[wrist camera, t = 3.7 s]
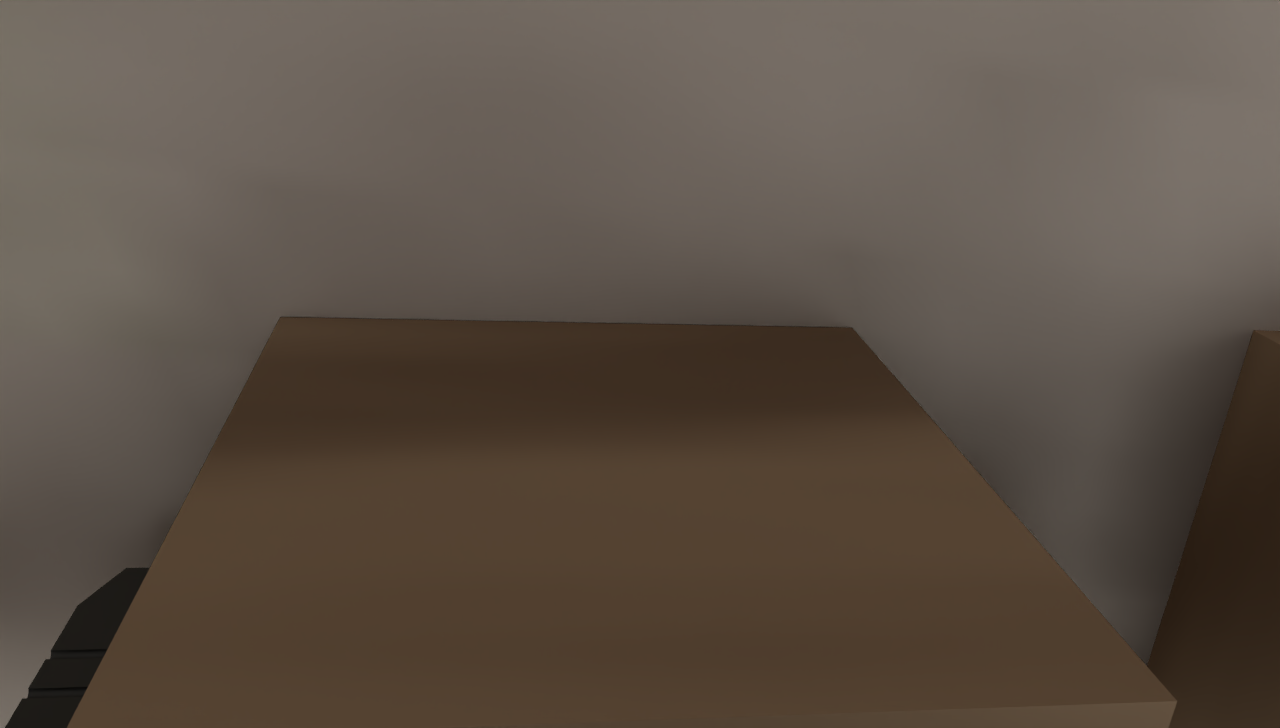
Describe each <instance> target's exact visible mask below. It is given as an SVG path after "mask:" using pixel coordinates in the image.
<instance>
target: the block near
mask: <svg viewBox="0 0 1280 728" xmlns="http://www.w3.org/2000/svg"><path fill="white" fill-rule="evenodd" d="M1176 703H1177V700H1176V699H1175V698H1174V697H1173V696H1172V695H1171V693H1170V692H1169V691H1168V690H1167V689H1166V688H1165V686H1164V685H1163V684H1162V683H1161V682H1160V681H1159V680H1158V678H1157V677H1156V676H1155V675H1154V674H1153V673H1152V672H1151V670H1150V669H1149V668H1148V667H1147V666H1146V665H1145V664H1144V662H1143V661H1142V660H1141V659H1140V658H1139V657H1138V655H1137V654H1136V653H1135V652H1134V651H1133V650H1132V649H1131V647H1130V646H1129V645H1128V644H1127V643H1126V642H1125V641H1124V639H1123V638H1122V637H1121V636H1120V635H1119V634H1118V633H1117V631H1116V630H1115V629H1114V628H1113V627H1112V626H1111V624H1110V623H1109V622H1108V621H1107V620H1106V619H1105V618H1104V616H1103V615H1102V614H1101V613H1100V612H1099V611H1098V610H1097V608H1096V607H1095V606H1094V605H1093V604H1092V603H1091V602H1090V600H1089V599H1088V598H1087V597H1086V596H1085V595H1084V593H1083V592H1082V591H1081V590H1080V589H1079V588H1078V587H1077V585H1076V584H1075V583H1074V582H1073V581H1072V580H1071V579H1070V577H1069V576H1068V575H1067V574H1066V573H1065V572H1064V571H1063V569H1062V568H1061V567H1060V566H1059V565H1058V564H1057V562H1056V561H1055V560H1054V559H1053V558H1052V557H1051V556H1050V554H1049V553H1048V552H1047V551H1046V550H1045V549H1044V548H1043V546H1042V545H1041V544H1040V543H1039V542H1038V541H1037V540H1036V538H1035V537H1034V536H1033V535H1032V534H1031V533H1030V531H1029V530H1028V529H1027V528H1026V527H1025V526H1024V525H1023V523H1022V522H1021V521H1020V520H1019V519H1018V518H1017V517H1016V515H1015V514H1014V513H1013V512H1012V511H1011V510H1010V509H1009V507H1008V506H1007V505H1006V504H1005V503H1004V502H1003V500H1002V499H1001V498H1000V497H999V496H998V495H997V494H996V492H995V491H994V490H993V489H992V488H991V487H990V486H989V484H988V483H987V482H986V481H985V480H984V479H983V477H982V476H981V475H980V474H979V473H978V472H977V471H976V469H975V468H974V467H973V466H972V465H971V464H970V463H969V461H968V460H967V459H966V458H965V457H964V456H963V455H962V453H961V452H960V451H959V450H958V449H957V448H956V446H955V445H954V444H953V443H952V442H951V441H950V440H949V438H948V437H947V436H946V435H945V434H944V433H943V432H942V430H941V429H940V428H939V427H938V426H937V425H936V424H935V422H934V421H933V420H932V419H931V418H930V417H929V415H928V414H927V413H926V412H925V411H924V410H923V409H922V407H921V406H920V405H919V404H918V403H917V402H916V401H915V399H914V398H913V397H912V396H911V395H910V394H909V393H908V391H907V390H906V389H905V388H904V387H903V386H902V384H901V383H900V382H899V381H898V380H897V379H896V378H895V376H894V375H893V374H892V373H891V372H890V371H889V370H888V368H887V367H886V366H885V365H884V364H883V363H882V362H881V360H880V359H879V358H878V357H877V356H876V355H875V353H874V352H873V351H872V350H871V349H870V348H869V347H868V345H867V344H866V343H865V342H864V341H863V340H862V339H861V337H860V336H859V335H858V334H857V333H856V332H855V331H854V329H853V328H839V327H784V326H730V325H676V324H622V323H568V322H514V321H460V320H406V319H351V318H297V317H280V319H279V321H278V322H277V324H276V326H275V328H274V330H273V332H272V334H271V336H270V338H269V340H268V342H267V344H266V346H265V347H264V349H263V351H262V353H261V355H260V357H259V359H258V361H257V363H256V365H255V367H254V369H253V371H252V372H251V374H250V376H249V378H248V380H247V382H246V384H245V386H244V388H243V390H242V392H241V394H240V396H239V397H238V399H237V401H236V403H235V405H234V407H233V409H232V411H231V413H230V415H229V417H228V419H227V421H226V422H225V424H224V426H223V428H222V430H221V432H220V434H219V436H218V438H217V440H216V442H215V444H214V446H213V447H212V449H211V451H210V453H209V455H208V457H207V459H206V461H205V463H204V465H203V467H202V469H201V471H200V473H199V474H198V476H197V478H196V480H195V482H194V484H193V486H192V488H191V490H190V492H189V494H188V496H187V498H186V499H185V501H184V503H183V505H182V507H181V509H180V511H179V513H178V515H177V517H176V519H175V521H174V523H173V524H172V526H171V528H170V530H169V532H168V534H167V536H166V538H165V540H164V542H163V544H162V546H161V548H160V549H159V551H158V553H157V555H156V557H155V559H154V561H153V563H152V565H151V567H150V569H149V571H148V573H147V574H146V576H145V578H144V580H143V582H142V584H141V586H140V588H139V590H138V592H137V594H136V596H135V598H134V599H133V601H132V603H131V605H130V607H129V609H128V611H127V613H126V615H125V617H124V619H123V621H122V623H121V624H120V626H119V628H118V630H117V632H116V634H115V636H114V638H113V640H112V642H111V644H110V646H109V648H108V649H107V651H106V653H105V655H104V657H103V659H102V661H101V663H100V665H99V667H98V669H97V671H96V673H95V674H94V676H93V678H92V680H91V682H90V684H89V686H88V688H87V690H86V692H85V694H84V696H83V698H82V699H81V701H80V703H79V705H78V707H77V709H76V711H75V713H74V715H73V717H72V719H71V721H70V723H69V724H68V726H67V728H1169V725H1170V722H1171V719H1172V716H1173V713H1174V709H1175V706H1176Z"/></svg>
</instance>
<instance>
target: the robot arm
mask: <svg viewBox="0 0 1280 728" xmlns="http://www.w3.org/2000/svg"><path fill="white" fill-rule="evenodd" d="M149 569H150V568H126V569H125V570H123V571H122V572H121V573H119V574H118V575H117V576H115V577H114V578H113V579H112V580H110V581H109V582H108V583H106V584H105V585H104V586H103V587H101V588H100V589H99V590H97V591H96V592H95V593H93V594H92V595H91V596H90V597H88V598H87V599H86V600H84V601H83V602H82V603H81V604H79V605H78V606H77V608H76V609H75V611H74V613H73V614H72V616H71V618H70V619H69V621H68V623H67V624H66V626H65V628H64V630H63V631H62V633H61V635H60V636H59V638H58V640H57V641H56V643H55V645H54V646H53V648H52V650H51V658H50V659H46V660H45V661H44V663H43V665H42V667H41V668H40V670H39V672H38V673H37V675H36V677H35V678H34V680H33V682H32V683H31V685H30V687H29V688H28V689H29V693H28V697H27V698H23V699H22V700H21V702H20V703H19V705H18V707H17V709H16V710H15V712H14V714H13V715H12V717H11V719H10V720H9V722H8V724H7V725H6V727H5V728H67V726H68V724H69V723H70V721H71V719H72V717H73V715H74V713H75V711H76V709H77V707H78V705H79V703H80V701H81V699H82V698H83V696H84V694H85V692H86V690H87V688H88V686H89V684H90V682H91V680H92V678H93V676H94V674H95V673H96V671H97V669H98V667H99V665H100V663H101V661H102V659H103V657H104V655H105V653H106V651H107V649H108V648H109V646H110V644H111V642H112V640H113V638H114V636H115V634H116V632H117V630H118V628H119V626H120V624H121V623H122V621H123V619H124V617H125V615H126V613H127V611H128V609H129V607H130V605H131V603H132V601H133V599H134V598H135V596H136V594H137V592H138V590H139V588H140V586H141V584H142V582H143V580H144V578H145V576H146V574H147V573H148V571H149Z"/></svg>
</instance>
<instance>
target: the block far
mask: <svg viewBox="0 0 1280 728" xmlns="http://www.w3.org/2000/svg"><path fill="white" fill-rule="evenodd" d="M1147 667H1148V668H1149V669H1150V670H1151V672H1152V673H1153V674H1154V675H1155V676H1156V677H1157V678H1158V680H1159V681H1160V682H1161V683H1162V684H1163V685H1164V686H1165V688H1166V689H1167V690H1168V691H1169V692H1170V693H1171V695H1172V696H1173V697H1174V698H1175V699H1176V700H1177V703H1176V706H1175V709H1174V713H1173V716H1172V719H1171V722H1170V725H1169V728H1280V331H1260V330H1254V331H1253V334H1252V337H1251V340H1250V344H1249V347H1248V350H1247V353H1246V356H1245V359H1244V362H1243V366H1242V369H1241V372H1240V375H1239V378H1238V381H1237V385H1236V388H1235V391H1234V394H1233V397H1232V400H1231V403H1230V407H1229V410H1228V413H1227V416H1226V419H1225V422H1224V425H1223V429H1222V432H1221V435H1220V438H1219V441H1218V444H1217V447H1216V451H1215V454H1214V457H1213V460H1212V463H1211V466H1210V469H1209V473H1208V476H1207V479H1206V482H1205V485H1204V488H1203V491H1202V495H1201V498H1200V501H1199V504H1198V507H1197V510H1196V513H1195V517H1194V520H1193V523H1192V526H1191V529H1190V532H1189V535H1188V539H1187V542H1186V545H1185V548H1184V551H1183V554H1182V557H1181V561H1180V564H1179V567H1178V570H1177V573H1176V576H1175V579H1174V583H1173V586H1172V589H1171V592H1170V595H1169V598H1168V601H1167V605H1166V608H1165V611H1164V614H1163V617H1162V620H1161V624H1160V627H1159V630H1158V633H1157V636H1156V639H1155V642H1154V646H1153V649H1152V652H1151V655H1150V658H1149V661H1148V664H1147Z"/></svg>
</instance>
